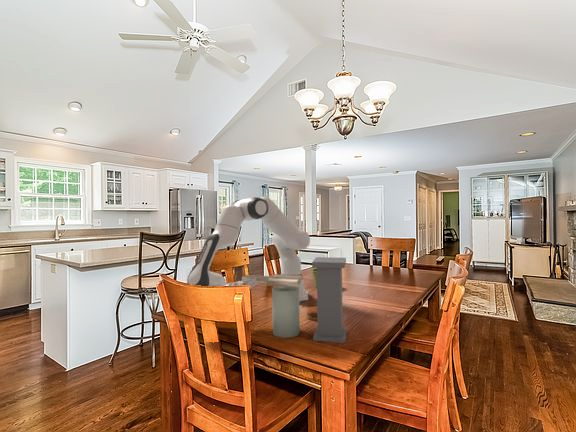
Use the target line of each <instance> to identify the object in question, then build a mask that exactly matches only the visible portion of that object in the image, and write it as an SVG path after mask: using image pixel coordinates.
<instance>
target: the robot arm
mask: <svg viewBox="0 0 576 432" xmlns="http://www.w3.org/2000/svg"><path fill="white" fill-rule="evenodd" d="M254 220H261V221H262V223H263V224H264V225H265V226H266V227H267V229H269V230H270V232H271V233H272V236H271V241H272V243H273V245H274V246H275V247H276V250H277V252H278V254H279V259H280V274H284V275H303V274H302V260H301V258H300V257H299V256H298V254H297V252H296V251H300V250H306V249H308V248H309V246H310V243H311V237H310V235H309V233H308V232H307V231H306V230H303V229H301V228H300V227H298V225H296V224H295V223H293V221H291V220H290V219H288V217H287V216H286V215H285V214H284V212H282V210H281V209H280V208H279V207H278V205H277V204H276V203H275V201H273V200H272V199H271V198H269V197H268V196H260V197H258V196H254V197H246V198H243V199H237V200H235V201H234V202H233V203H231V204H228V205H227V204H226V205H225V206H224V207H223V208H222V211H221V212H220V214H219V216H218V219H217V222H216V224H215V227H214V230H213V232H212V233H211V234H209V236H208V237H207V238H206V239H205V241H204V243H203V246H202V248H201V251H200V252H199V255H198V258H197V260H196V262H195V265H194V266H193V268H192V269H191V271H190V272H189V273H188V276H187V279H186V281H187V283H186V284H187V285H188V284H193V285H201V286H235V285H251V288H253V287H255V286H256V285H257V284H258V283H256V282H258V279H257V278H254V279H252V280H250V281H248V282H247V281H244V282H242V280H238V281H231V282H229V283H227V282H226V279H225V277H224V275H222V274H220V273H218V272H215V271H214V272H213V271H211V270H210V267H211V264H212V262H213V259H214V257H215V255H216V253H217V252H218V250H220V249H222V248H229V247H231V246H233V245H234V244H235V243H236V242H237V240H238V238H239V234H240V230H241V227H242V223H243V222H244V221H247V222H249V221H254ZM254 276H256V275H255V274H254ZM258 276H262V275H261V274H259V275H258ZM297 287H299V303H300V302H303V301H309V293H308V291H306V290H305V283H304V282H303V280H302V281H301V282H300V284H299V285H298V286H297ZM251 288H250V289H251Z"/></svg>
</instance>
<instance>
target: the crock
mask: <svg viewBox="0 0 576 432" xmlns="http://www.w3.org/2000/svg"><path fill="white" fill-rule="evenodd" d="M271 293H272V294H271V296H272V297H271V298H272V299H271V300H272V302H271V303H272V305H271V306H272V307H271V308H272V309H271V311H272V314H271V315H272V335H274V336H275V337H278V338H284V339H285V338H287V339H288V338H289V339H290V338H294V337H296V336H299V334H300V333H301V332H300V330H301V329H300V327H301V326H300V325H301V324H300V319H301V318H300V302H299V287H288V286H272V287H271Z"/></svg>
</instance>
